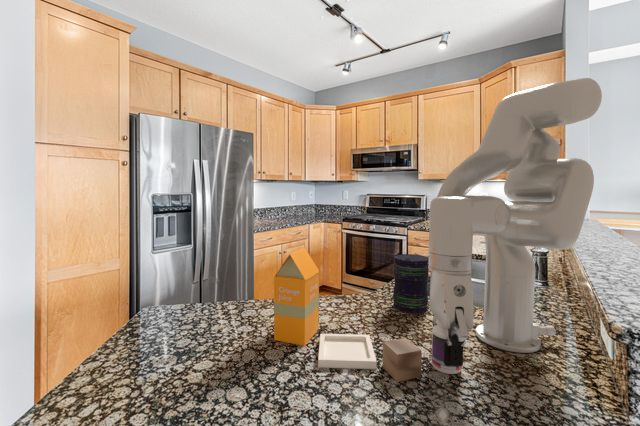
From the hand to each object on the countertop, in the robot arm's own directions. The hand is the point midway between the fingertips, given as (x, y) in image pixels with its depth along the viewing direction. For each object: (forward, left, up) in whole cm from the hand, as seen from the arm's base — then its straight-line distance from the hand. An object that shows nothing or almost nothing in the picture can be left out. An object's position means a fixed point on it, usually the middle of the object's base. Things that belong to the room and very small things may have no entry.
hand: (446, 355), depth 58 cm
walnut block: (+9, +2, -2) cm, 10 cm away
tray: (+19, -4, -2) cm, 20 cm away
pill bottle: (0, 0, -2) cm, 2 cm away
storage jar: (-1, -31, -2) cm, 31 cm away
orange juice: (+30, -12, -3) cm, 32 cm away
